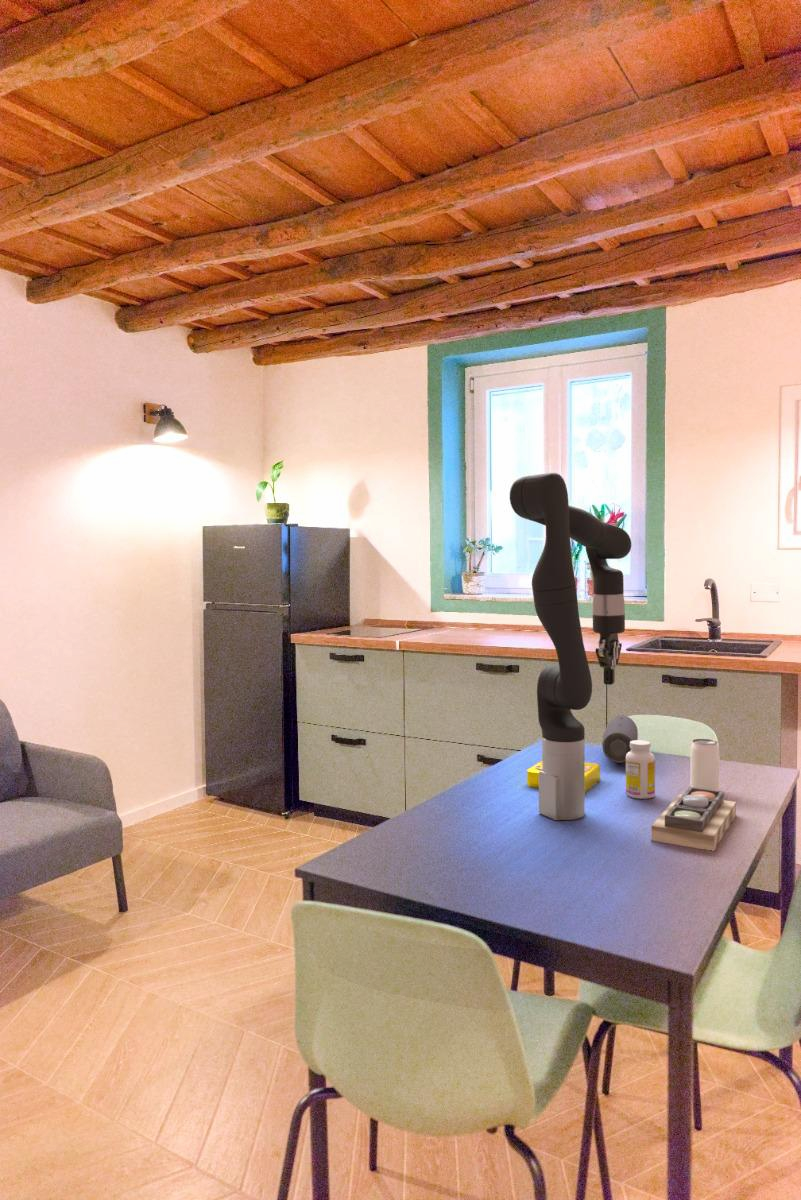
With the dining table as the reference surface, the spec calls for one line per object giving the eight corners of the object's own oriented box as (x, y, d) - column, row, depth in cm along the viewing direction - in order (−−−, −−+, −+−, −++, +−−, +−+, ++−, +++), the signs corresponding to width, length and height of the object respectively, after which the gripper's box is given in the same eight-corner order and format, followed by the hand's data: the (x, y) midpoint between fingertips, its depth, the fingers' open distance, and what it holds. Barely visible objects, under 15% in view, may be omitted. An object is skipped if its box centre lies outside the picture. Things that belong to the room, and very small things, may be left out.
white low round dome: (705, 812, 169) (705, 803, 169) (680, 808, 172) (680, 799, 172) (710, 805, 174) (710, 796, 173) (686, 801, 176) (686, 793, 176)
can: (721, 795, 195) (721, 745, 194) (692, 793, 196) (692, 744, 195) (716, 787, 201) (716, 738, 200) (688, 785, 202) (688, 737, 201)
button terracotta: (712, 807, 176) (712, 799, 176) (688, 804, 178) (688, 796, 178) (717, 801, 180) (717, 793, 180) (693, 798, 183) (693, 790, 182)
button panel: (713, 851, 160) (714, 824, 159) (651, 840, 166) (651, 815, 166) (735, 815, 180) (736, 792, 180) (679, 806, 186) (679, 784, 186)
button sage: (697, 829, 163) (697, 820, 163) (671, 825, 166) (671, 816, 166) (702, 821, 167) (702, 813, 167) (677, 817, 170) (677, 809, 170)
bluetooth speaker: (605, 746, 243) (605, 712, 242) (638, 748, 240) (638, 714, 239) (600, 766, 221) (600, 729, 221) (636, 768, 218) (636, 731, 218)
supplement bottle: (651, 791, 198) (652, 739, 197) (657, 800, 192) (657, 745, 191) (623, 791, 199) (623, 738, 198) (628, 799, 192) (628, 745, 191)
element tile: (582, 796, 197) (582, 776, 196) (524, 787, 205) (524, 768, 204) (602, 780, 209) (602, 762, 209) (546, 772, 217) (546, 755, 217)
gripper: (615, 615, 190) (615, 689, 191) (632, 610, 201) (632, 680, 202) (584, 614, 194) (584, 687, 195) (602, 609, 205) (603, 678, 206)
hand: (609, 683), depth 199 cm, fingers closed
